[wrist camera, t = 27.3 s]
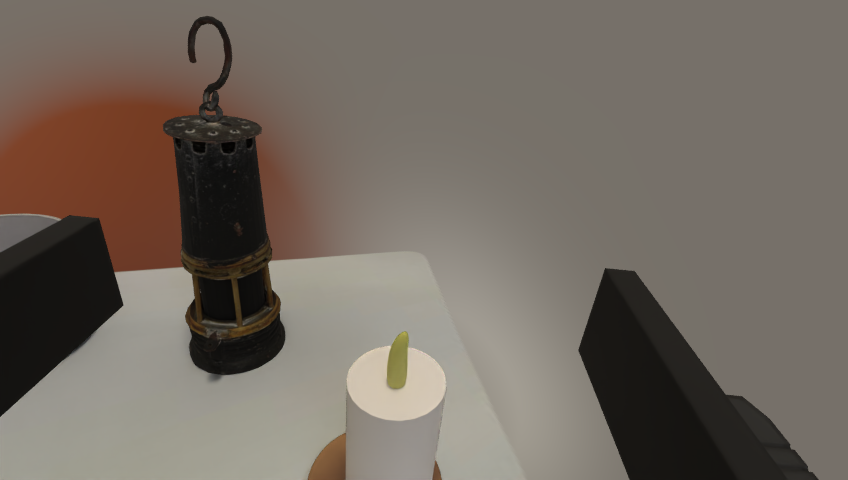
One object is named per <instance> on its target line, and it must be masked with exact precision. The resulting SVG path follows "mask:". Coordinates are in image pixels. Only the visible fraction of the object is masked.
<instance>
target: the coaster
mask: <svg viewBox="0 0 848 480" xmlns="http://www.w3.org/2000/svg"><path fill="white" fill-rule="evenodd" d="M308 480H346V433H344V434H342V435H340V436H339V437H337V438H336V439H334V440H333V441H332V442H330V443H329V444H328V445H327V446H326V447H325V448H324V449H323V450H322V452H321V453H320V454H319V456H318V457H317V459H316V460H315V462H314V464H313V466H312V468H311V470H310V473H309V476H308ZM432 480H442V479H441V474H440V470H439V467H438V464H437V462H436V460H435V465H434V472H433V478H432Z"/></svg>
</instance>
